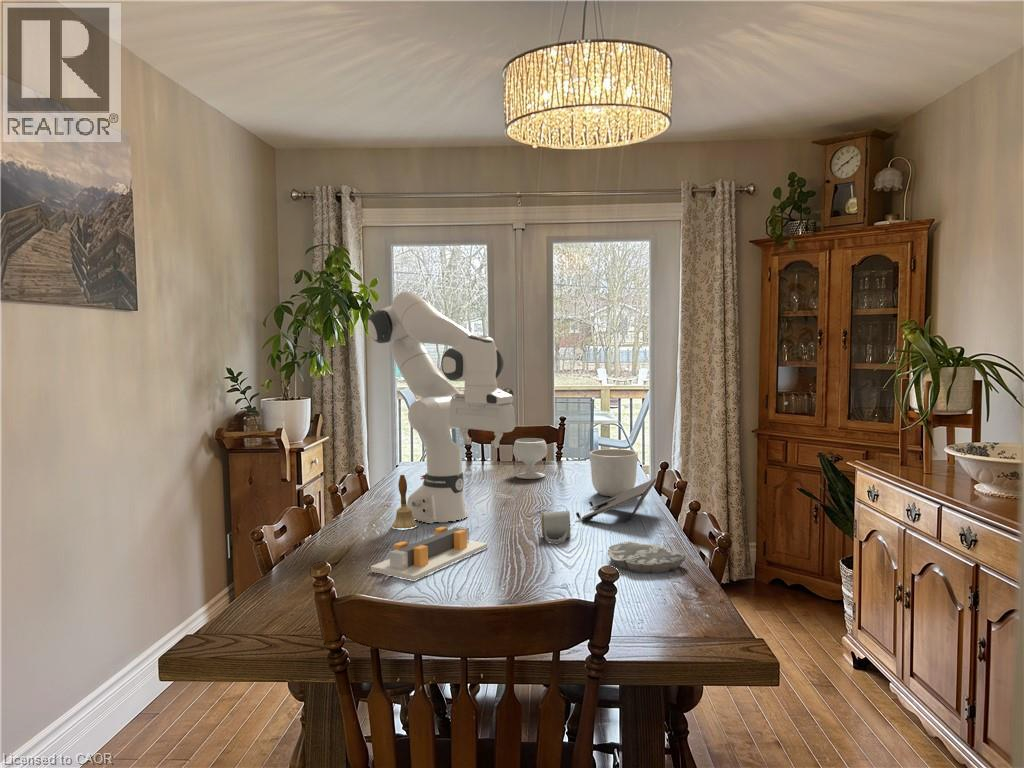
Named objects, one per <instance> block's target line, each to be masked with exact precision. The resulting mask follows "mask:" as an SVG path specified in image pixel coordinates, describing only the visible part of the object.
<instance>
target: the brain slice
mask: <svg viewBox="0 0 1024 768" xmlns="http://www.w3.org/2000/svg"><path fill="white" fill-rule="evenodd" d="M607 555H608V557H609V558H610V560H611V561H612V562H613V563H615V564H616V565H618V567H619V568H622V569H624V570H630V571H631V572H632V573H633V572H634V573H644V574H647V573H652V574H657V573H666V572H668V571H670V570H671V571H672V570H676V569H677V568H678V567H680V566H681V565H682V564H683V563H684V561H686V556H685V555H684V554H683V553H679V552H675V551H672V550H671V549H669V548H667V547H666V546H661V545H658V544H654V543H653V544H652V543H651V544H650V543H640V542H635V541H624V542H619V543H616V544H613V545H610V546H608V549H607Z"/></svg>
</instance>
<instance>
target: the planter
mask: <svg viewBox="0 0 1024 768" xmlns="http://www.w3.org/2000/svg"><path fill="white" fill-rule="evenodd" d="M638 455H639V454H638V452H637V451H636V450H632V449H625V448H603V449H602V448H601V449H599V448H598V449H594V450H591V451H590V452H589V463H590V473H591V484H592V486H593V488H594V490H595V491H596V493H598V494H600V495H601V496H605V497H608V496H610V498H612V497H614V496H616V495H618V494H621V493H623V492H625V491H628V490H630V489H632V488H634V487H636V481H637V470H638Z"/></svg>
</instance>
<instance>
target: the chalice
mask: <svg viewBox="0 0 1024 768" xmlns="http://www.w3.org/2000/svg"><path fill="white" fill-rule="evenodd" d="M512 454H513V455H514V457H515V458H516V459H518V460H520V461H521V462H523V463H524V464H526V465H527V468H528V469H527V471H526V472H521V473H517V474H515V477H516V478H517V479H524V480H525V479H526V480H535V479H541V478H545V477H546V474H545V473H543V472H538V471H537V472H535V471H534V469H533V468H534V465H535V464H536V463H537V462H539V461H541V460H542V459H544V458H545V457H546V456H547V454H548V445H547V442H546V440H545V439H544V438H540V437H539V438H538V437H523V438H518V439H516V440H515V441H514V444H513V446H512Z"/></svg>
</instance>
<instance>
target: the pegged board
mask: <svg viewBox="0 0 1024 768" xmlns="http://www.w3.org/2000/svg"><path fill="white" fill-rule="evenodd" d="M448 528H449V527H446V526H440V527H436V528H434V535H437V534H440V533H442V532H445V531H447V530H449V529H448ZM408 545H409V542H407V541H403V540H402V541H399V542H397V543H394V544H393V550H398V549H401V548H403V547H406V546H408ZM486 547H487V548H488V542H487V543H486V542H481V541H475V540H470V539H469V543H467V531H466V530H458V531H456V532H454V548H452V549H450V550H448V551H445V552H443V553H441V554H438V555H436V556H434V557H431V558H429V559H428V546H424V545H420V546H418V547H415V548H414V565H412V566H410V567H408V569H405V570H403V571H402V570H397V569H393V568H390V558H388V559H385V560H384V561H381V562H378V563H376V564H373V565H371V566H370V572H371V571H373V572H377V573H382V574H387V575H392V576H397V577H402V578H406V579H411V580H416V579H418V578H421V577H423V576H425V575H427V574H429V573H431V572H433V571H435V570H437V569H440V568H442V567H444V566H446V565H448V564H450V563H452V562H455V561H457V560H459V559H461V558H464V557H466V556H469V555H471V554H473V553H475V552H477V551H479V550H482V549H484V548H486Z"/></svg>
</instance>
